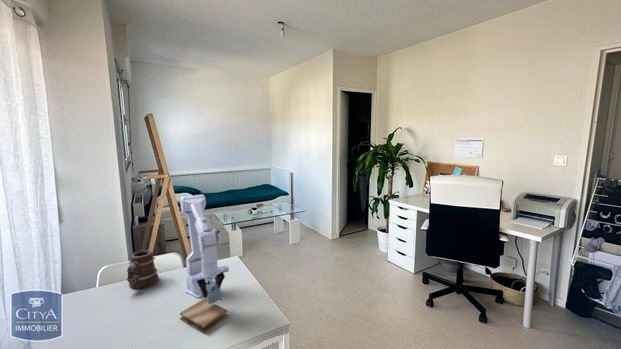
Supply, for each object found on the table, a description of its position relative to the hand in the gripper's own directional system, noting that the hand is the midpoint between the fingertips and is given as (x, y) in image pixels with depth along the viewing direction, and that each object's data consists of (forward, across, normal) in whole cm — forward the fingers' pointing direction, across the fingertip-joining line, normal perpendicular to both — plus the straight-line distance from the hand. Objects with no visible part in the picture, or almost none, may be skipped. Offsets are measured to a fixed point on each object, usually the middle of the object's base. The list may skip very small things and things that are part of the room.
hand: (211, 293), depth 110 cm
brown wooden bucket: (+9, -17, +42) cm, 47 cm away
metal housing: (+2, 0, 0) cm, 2 cm away
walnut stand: (+8, -4, -1) cm, 9 cm away
